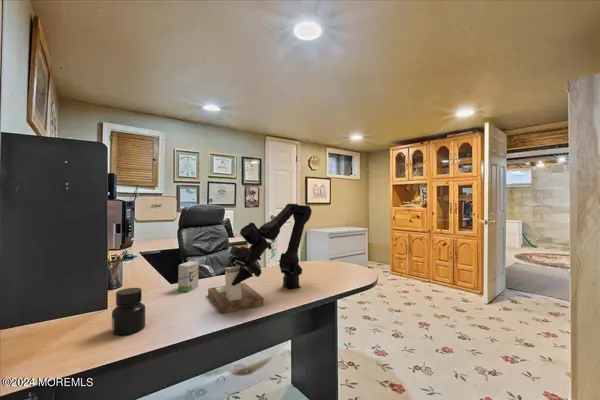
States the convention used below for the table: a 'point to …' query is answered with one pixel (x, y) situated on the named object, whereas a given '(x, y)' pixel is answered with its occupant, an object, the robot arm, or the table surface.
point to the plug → (231, 290)
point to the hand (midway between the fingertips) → (229, 283)
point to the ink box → (187, 276)
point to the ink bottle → (128, 312)
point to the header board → (224, 306)
